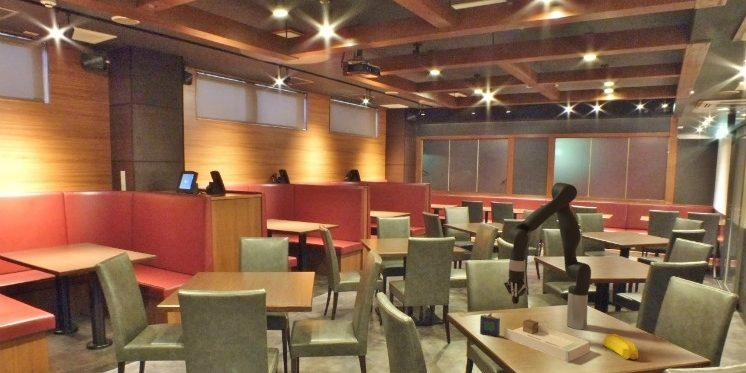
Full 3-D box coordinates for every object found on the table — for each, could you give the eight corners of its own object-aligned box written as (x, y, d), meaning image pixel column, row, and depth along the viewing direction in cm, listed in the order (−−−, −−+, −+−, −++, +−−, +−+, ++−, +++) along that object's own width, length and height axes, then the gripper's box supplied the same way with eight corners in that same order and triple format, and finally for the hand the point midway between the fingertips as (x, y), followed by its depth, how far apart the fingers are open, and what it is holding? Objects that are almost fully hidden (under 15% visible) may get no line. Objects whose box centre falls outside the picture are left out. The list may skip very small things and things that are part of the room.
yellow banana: (626, 362, 186) (643, 361, 187) (627, 346, 186) (644, 346, 187) (598, 345, 204) (614, 344, 205) (599, 330, 203) (614, 330, 205)
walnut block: (528, 329, 216) (529, 318, 216) (538, 332, 212) (538, 322, 212) (522, 331, 213) (523, 321, 213) (532, 334, 209) (532, 324, 209)
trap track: (526, 329, 221) (526, 320, 220) (589, 351, 195) (590, 341, 195) (503, 337, 210) (504, 328, 210) (567, 362, 184) (568, 351, 184)
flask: (499, 335, 212) (500, 313, 212) (499, 337, 210) (499, 315, 209) (480, 332, 216) (480, 310, 215) (479, 334, 213) (479, 312, 213)
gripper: (533, 270, 215) (531, 305, 216) (510, 265, 226) (508, 298, 226) (524, 272, 211) (522, 308, 211) (500, 267, 221) (499, 301, 222)
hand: (515, 303), depth 219 cm, fingers closed
